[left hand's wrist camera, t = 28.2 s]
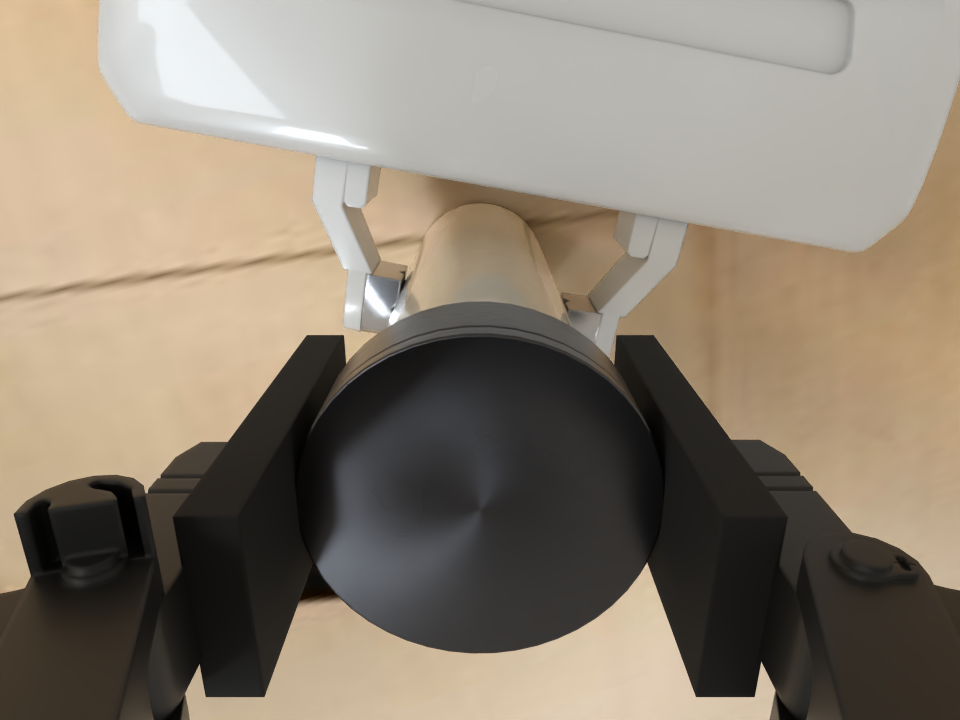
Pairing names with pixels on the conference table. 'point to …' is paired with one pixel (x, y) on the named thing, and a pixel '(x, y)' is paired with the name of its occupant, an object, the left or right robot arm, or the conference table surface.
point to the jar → (479, 265)
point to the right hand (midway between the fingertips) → (476, 344)
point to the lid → (480, 480)
